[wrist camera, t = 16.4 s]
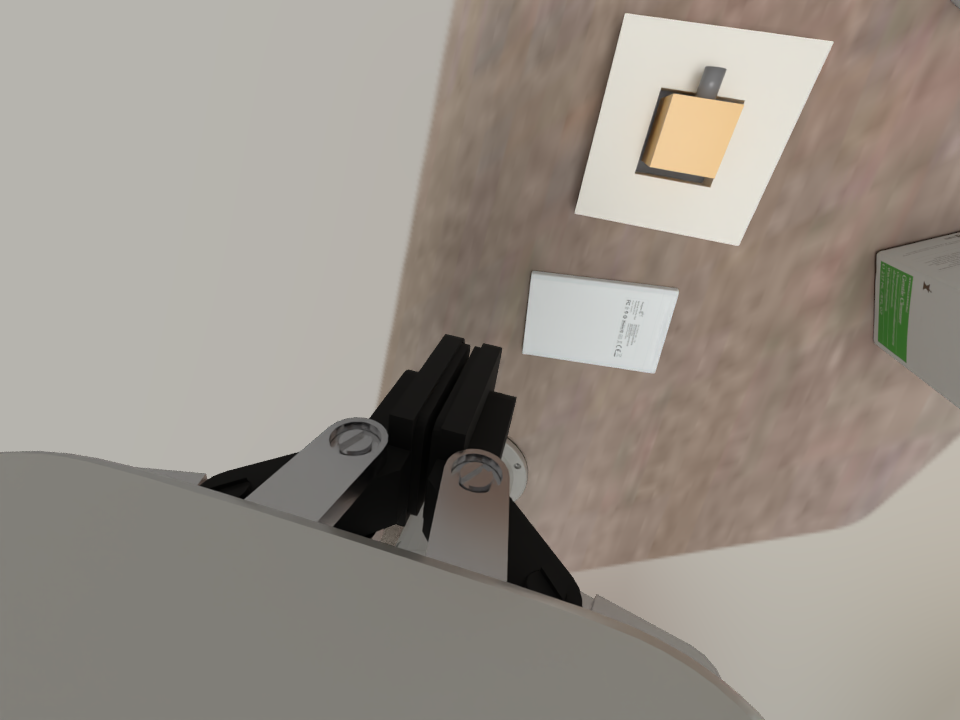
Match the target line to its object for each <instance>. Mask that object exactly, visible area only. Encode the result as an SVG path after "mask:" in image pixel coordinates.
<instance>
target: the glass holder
mask: <svg viewBox="0 0 960 720" xmlns="http://www.w3.org/2000/svg"><path fill="white" fill-rule="evenodd" d="M951 2H952V3H954V4H955V5H956V6H957V7H958V8H959V9H960V0H951Z"/></svg>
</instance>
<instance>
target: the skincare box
mask: <svg viewBox="0 0 960 720" xmlns="http://www.w3.org/2000/svg"><path fill="white" fill-rule="evenodd" d="M876 266H877V271H876V281H875V320H874V338H873V340H874V343H875V344H876V345H877V346H879V347H880V348H881V349H882V350H884V351H885V352H886V353H888V354H889V355H890V356H892V357H893V358H894V359H896V360H897V361H898V362H899V363H901V364H902V365H903V366H905V367H906V368H907V369H908V370H910V371H911V372H912V373H914V374H915V375H916V376H918V377H919V378H920V379H922V380H923V381H924V382H925V383H927V384H928V385H929V386H931V387H932V388H933V389H935V390H936V391H937V392H938V393H940V394H941V395H942V396H944V397H945V398H946V399H948V400H949V401H950V402H951V403H953V404H954V405H955V406H957V407H958V408H959V409H960V232H959V233H955V234H950V235H946V236H942V237H938V238H934V239H929V240H925V241H921V242H917V243H913V244H909V245H905V246H901V247H896V248H892V249H888V250H884V251H880V252H878V254H877V260H876Z"/></svg>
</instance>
